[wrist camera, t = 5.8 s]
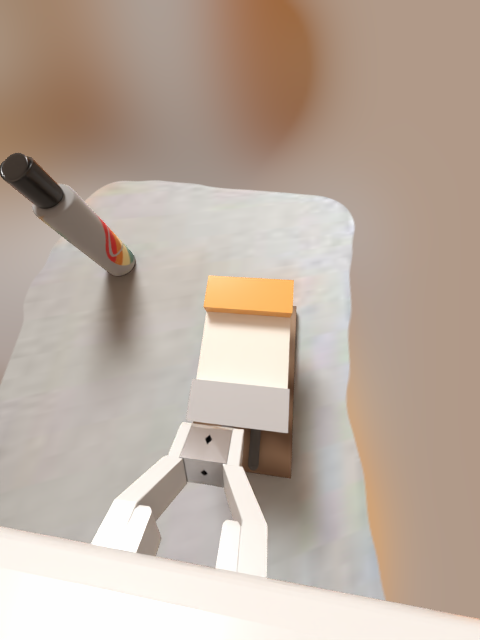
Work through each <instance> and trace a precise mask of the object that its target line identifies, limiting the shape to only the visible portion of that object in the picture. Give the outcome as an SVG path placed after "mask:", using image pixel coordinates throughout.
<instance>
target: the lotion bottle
mask: <svg viewBox="0 0 480 640" xmlns="http://www.w3.org/2000/svg"><path fill="white" fill-rule="evenodd" d="M0 175H1V177H2V178H3V179H4V180H5V181H6V182H7V183H8V184H10V185H11V186H12V187H13V188H15V189H16V190H17V191H18V192H19V193H21V194H22V195H23V196H24V197H26V198H27V199H28V200H29V201H31V202H32V203H33V204H32V209H33V212H34V214H35V215H36V216H37V217H38V218H39V219H41V220H42V221H43V222H45V223H46V224H47V225H48V226H50V227H51V228H52V229H53V230H55V231H56V232H57V233H58V234H60V235H61V236H62V237H64V238H65V239H66V240H68V241H69V242H70V243H71V244H73V245H74V246H75V247H77V248H78V249H79V250H80V251H82V252H83V253H84V254H86V255H87V256H88V257H89V258H91V259H92V260H93V261H95V262H96V263H97V264H98V265H100V266H101V267H102V268H104V269H105V270H106V271H108V272H109V273H111V274H112V275H115V276H122V275H125V274H127V273H128V272H130V271H131V270H132V268H133V267H134V264H135V257H134V255H133V254H132V252H131V251H130V250H129V249H128V248H127V247H126V246H125V245H124V244H123V242H122V241H121V240H120V239H119V238H118V237H117V236H116V235H115V234H114V233H113V232H112V231H111V230H110V228H109V227H108V226H107V225H106V224H105V223H104V222H103V221H102V220H101V219H100V218H99V217H98V216H97V214H96V213H95V212H94V211H93V210H92V209H91V208H90V207H89V206H88V205H87V204H86V203H85V202H84V200H83V199H82V198H81V197H80V196H79V195H78V194H77V193H76V192H75V191H74V190H73V189H72V188H71V187H69V186H67V185H64V184H57V183H56V182H55V181H54V180H53V179H52V178H51V177H50V176H49V175H48V174H47V173H46V172H45V171H44V170H43V169H42V168H41V167H40V165H38V164H37V163H36V161H35V160H33V158H31V157H27V156H25V155H23V154H21V153H15V154H12V155H10V156H9V157H8V158H7V159H6V160H5V161H4V162H2V164H1V165H0Z"/></svg>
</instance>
